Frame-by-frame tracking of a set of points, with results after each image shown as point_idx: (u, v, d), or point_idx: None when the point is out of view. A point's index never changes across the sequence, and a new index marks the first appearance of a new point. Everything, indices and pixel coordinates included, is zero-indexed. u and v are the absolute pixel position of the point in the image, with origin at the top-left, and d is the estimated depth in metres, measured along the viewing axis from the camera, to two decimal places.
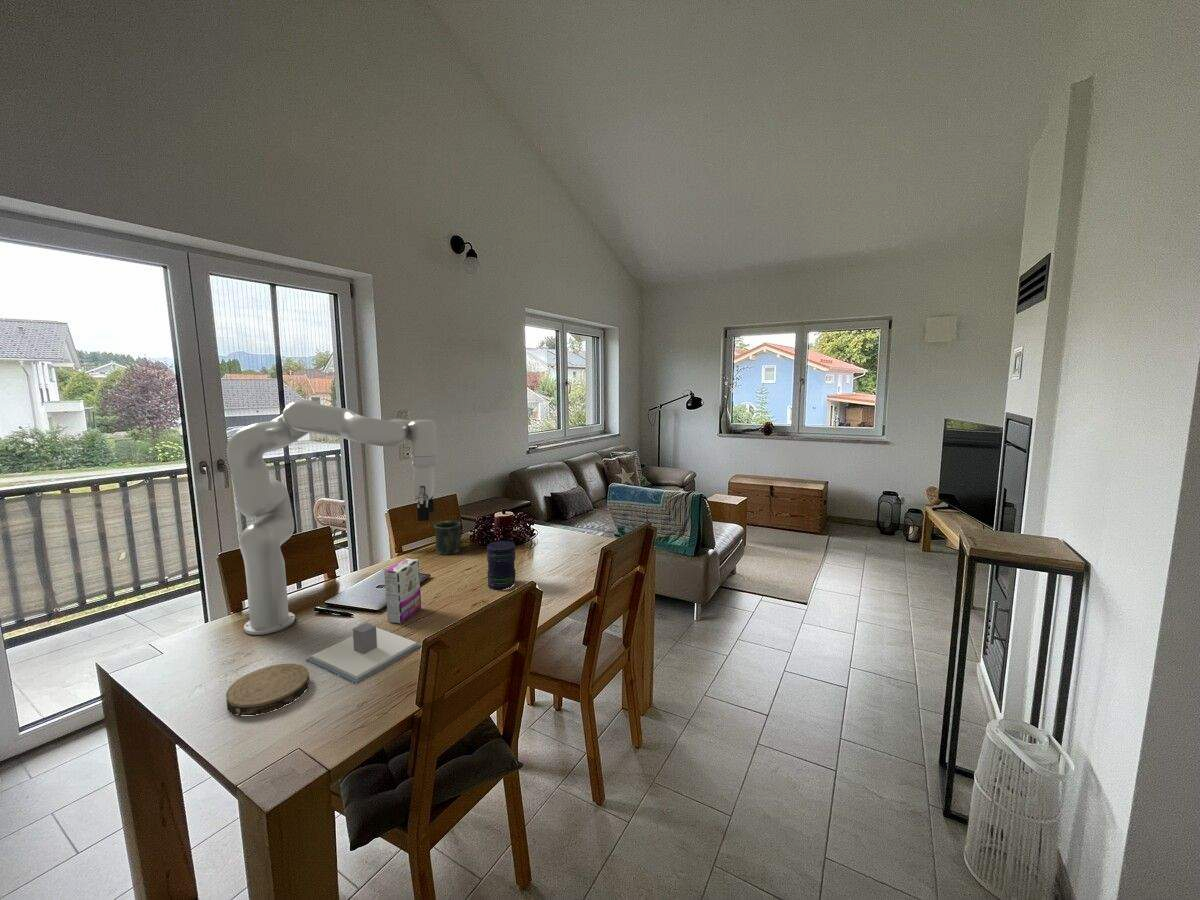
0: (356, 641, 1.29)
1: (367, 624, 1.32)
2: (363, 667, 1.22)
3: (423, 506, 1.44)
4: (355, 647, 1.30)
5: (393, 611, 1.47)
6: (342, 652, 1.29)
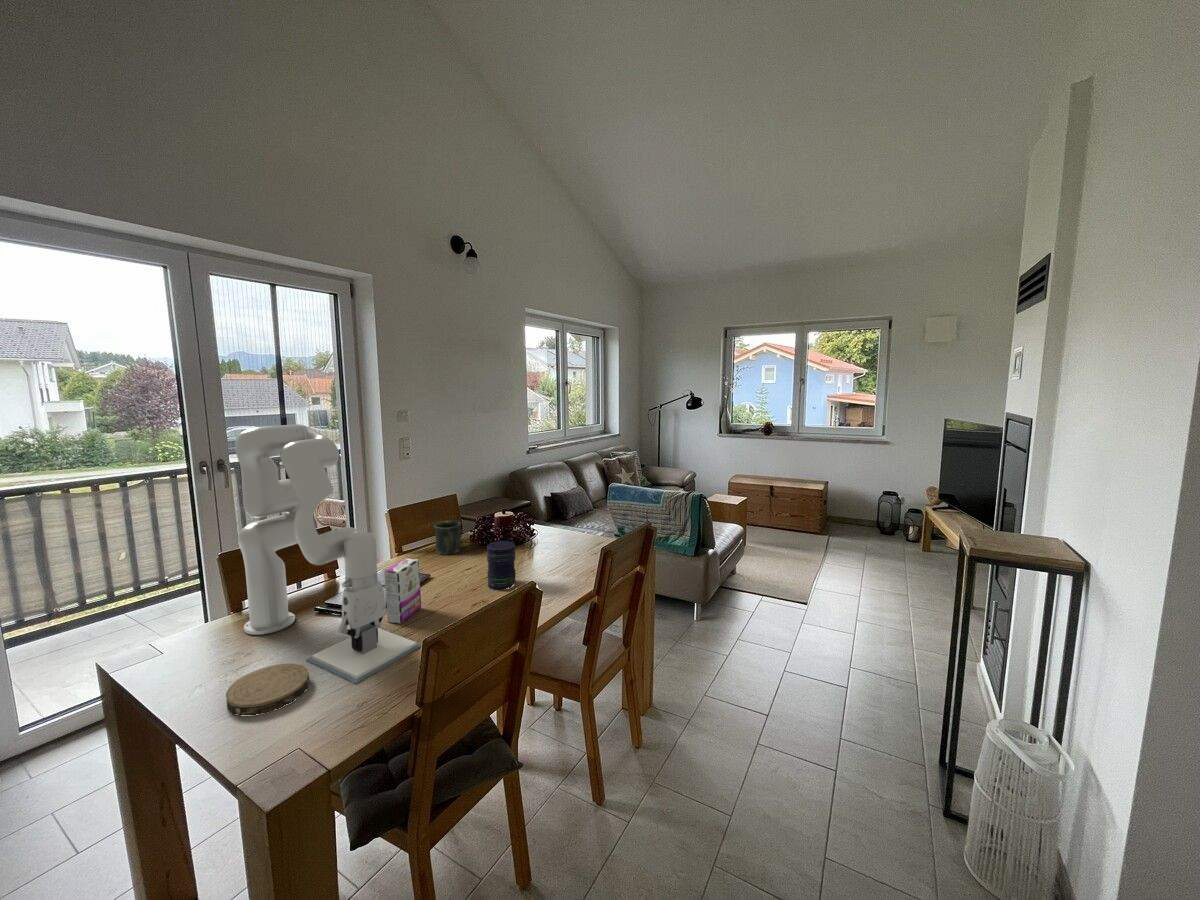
0: None
1: (367, 624, 1.32)
2: (363, 667, 1.22)
3: None
4: None
5: (393, 611, 1.47)
6: (342, 652, 1.29)
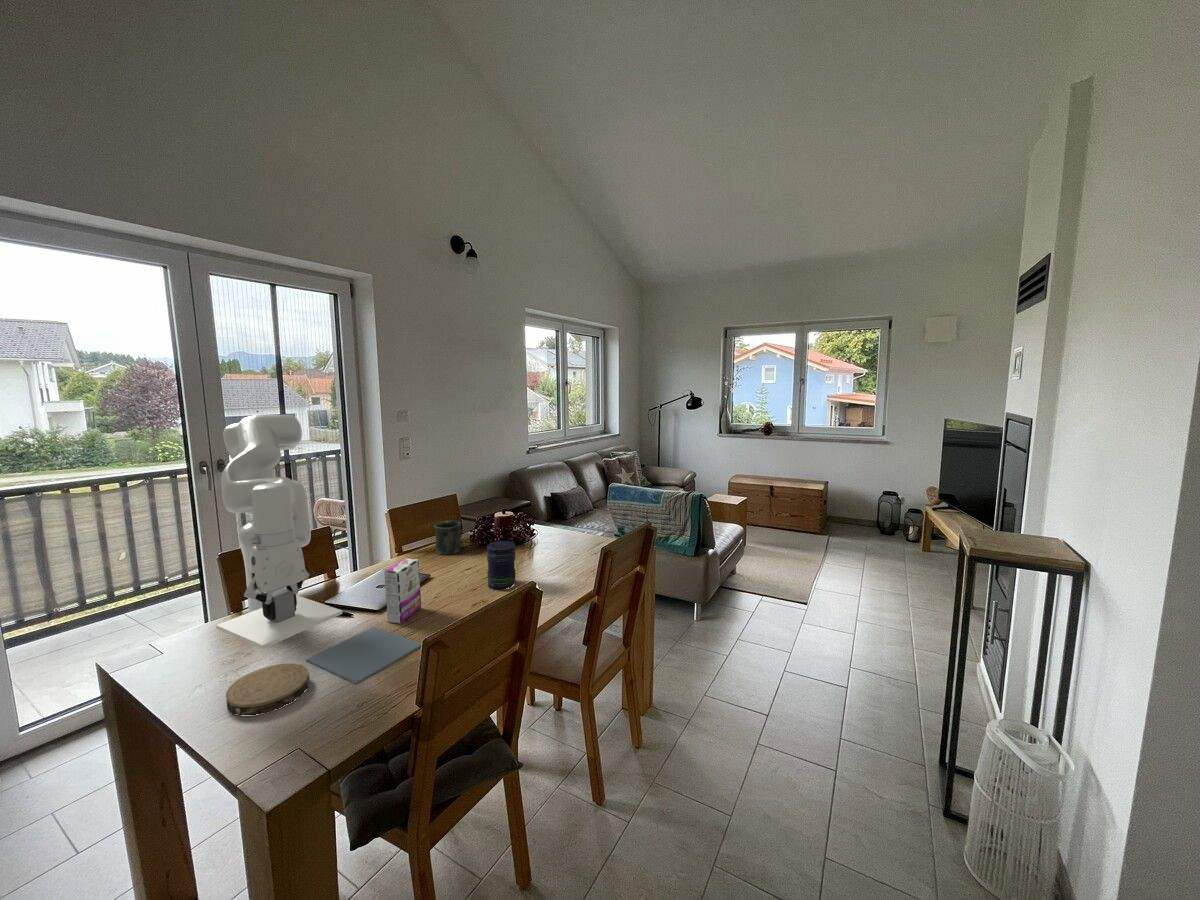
0: None
1: (283, 589, 1.15)
2: (273, 636, 1.06)
3: None
4: None
5: (393, 612, 1.47)
6: (252, 621, 1.12)
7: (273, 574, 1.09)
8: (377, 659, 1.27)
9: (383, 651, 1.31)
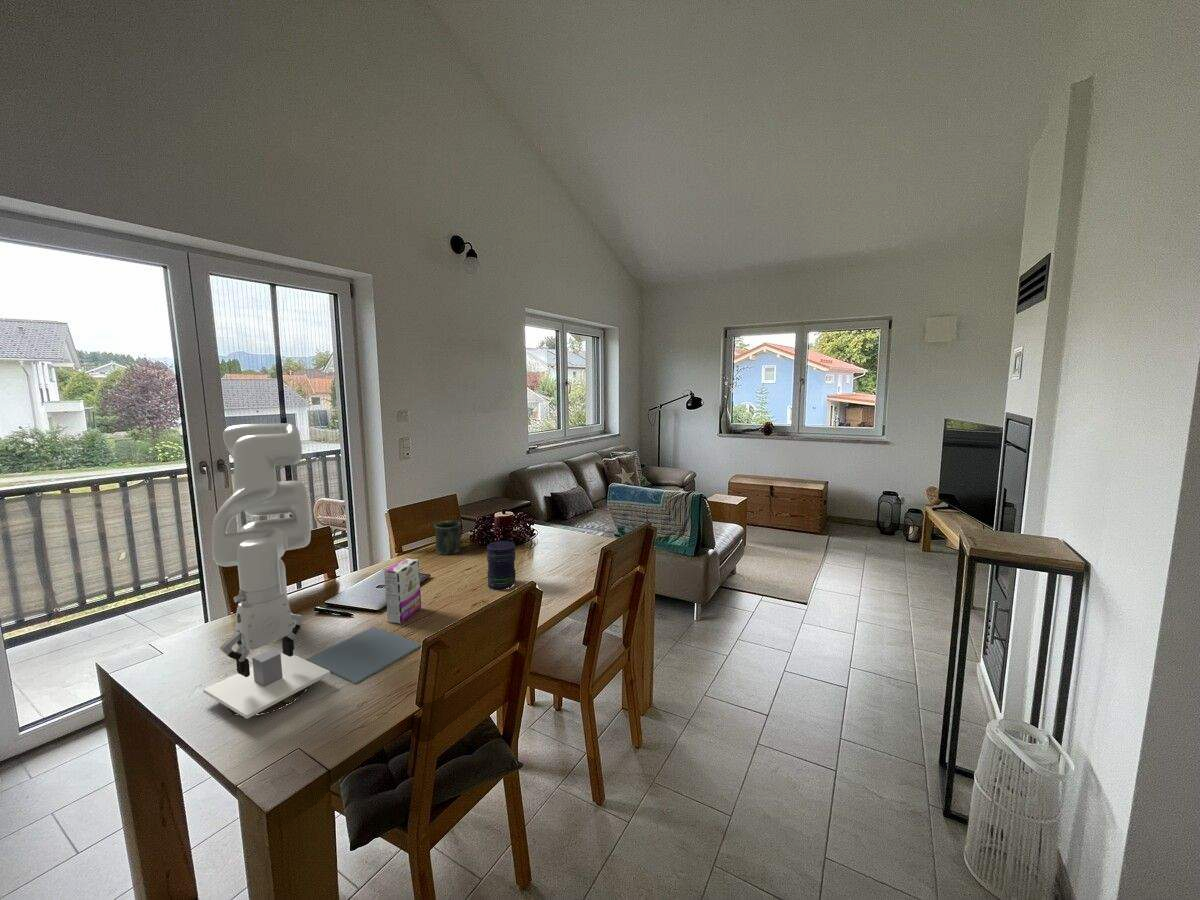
0: (256, 671, 1.12)
1: (271, 651, 1.14)
2: (258, 704, 1.05)
3: None
4: (255, 678, 1.12)
5: (393, 611, 1.47)
6: (239, 685, 1.11)
7: (259, 631, 1.08)
8: (377, 659, 1.27)
9: (383, 651, 1.31)
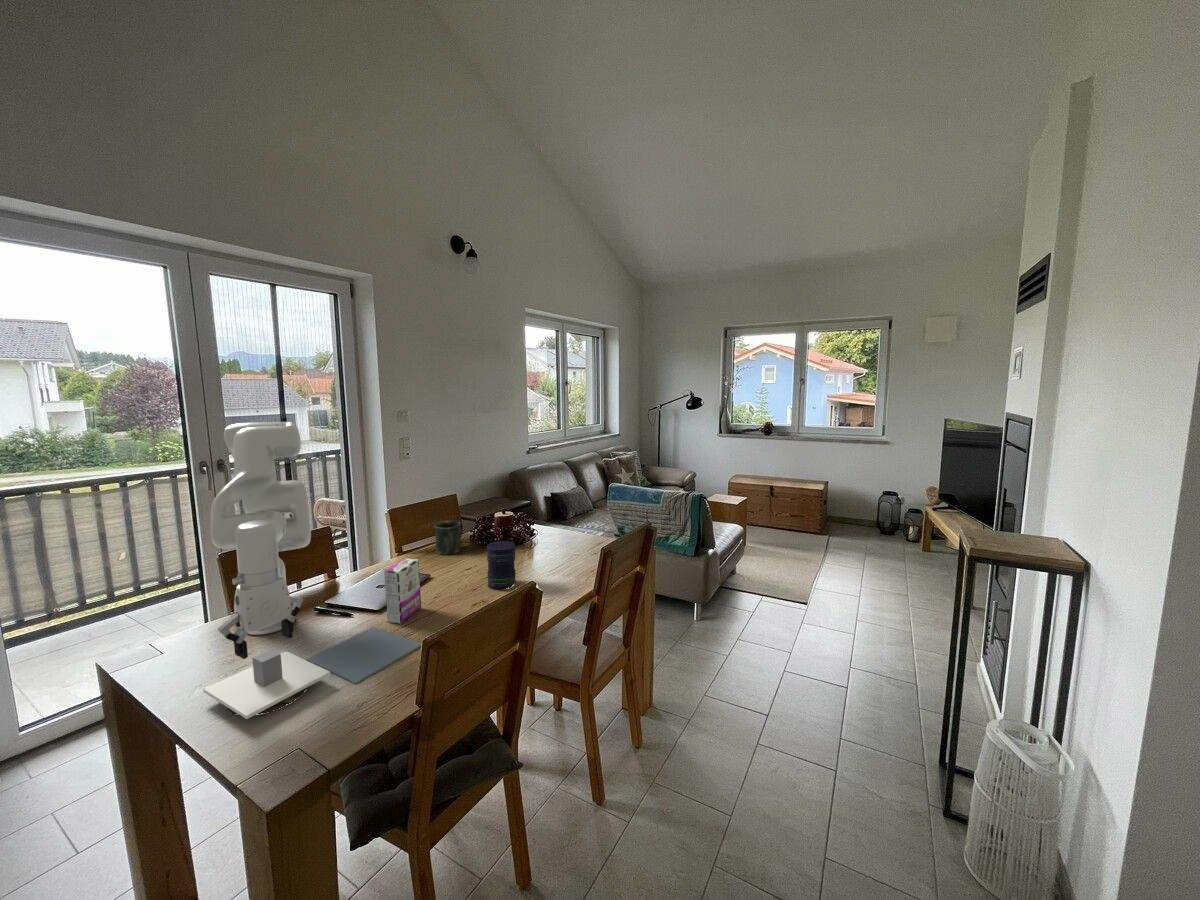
0: (256, 671, 1.12)
1: (271, 651, 1.14)
2: (258, 704, 1.05)
3: None
4: (255, 678, 1.12)
5: (393, 611, 1.47)
6: (239, 684, 1.11)
7: (257, 613, 1.08)
8: (377, 659, 1.27)
9: (383, 651, 1.31)
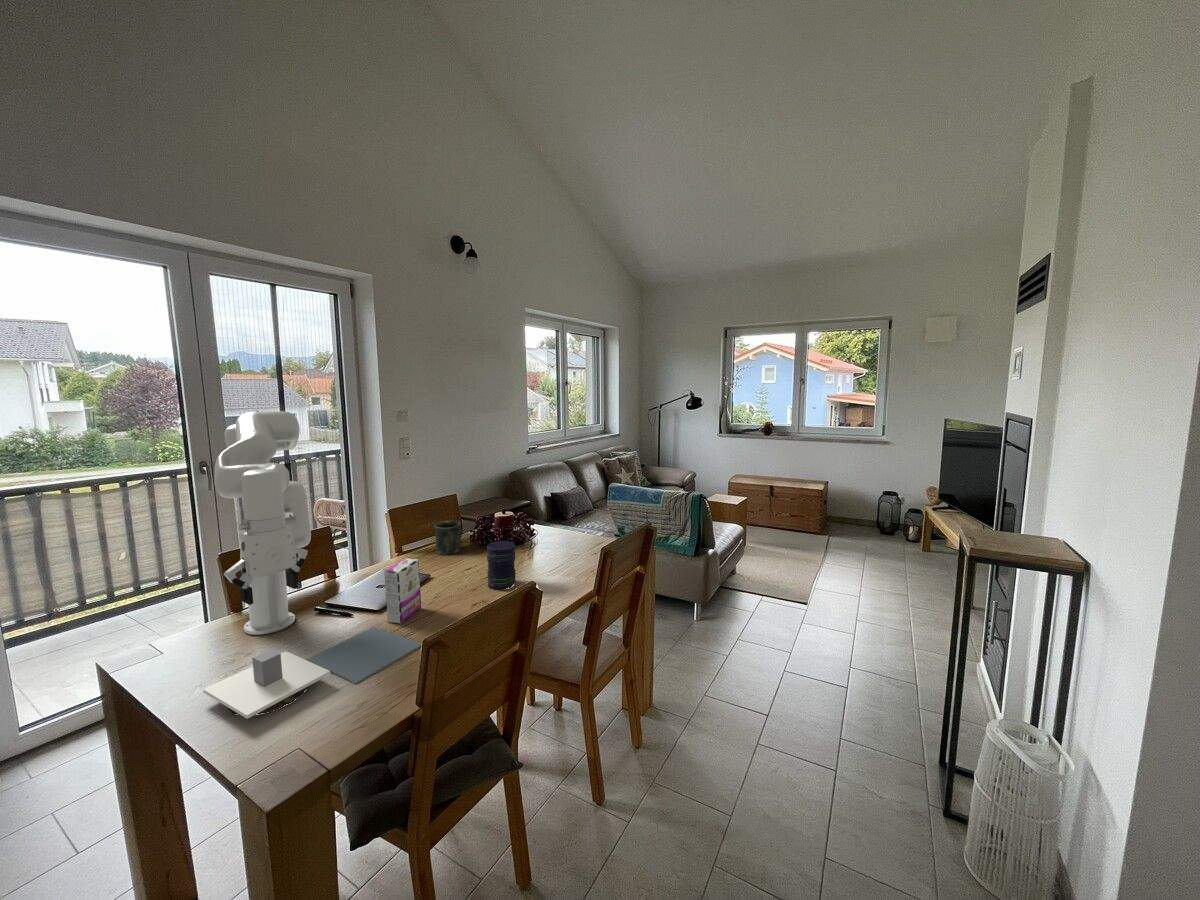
0: (256, 671, 1.12)
1: (271, 651, 1.14)
2: (258, 704, 1.05)
3: None
4: (255, 678, 1.12)
5: (393, 611, 1.47)
6: (239, 685, 1.11)
7: (263, 560, 1.09)
8: (377, 659, 1.27)
9: (383, 651, 1.31)
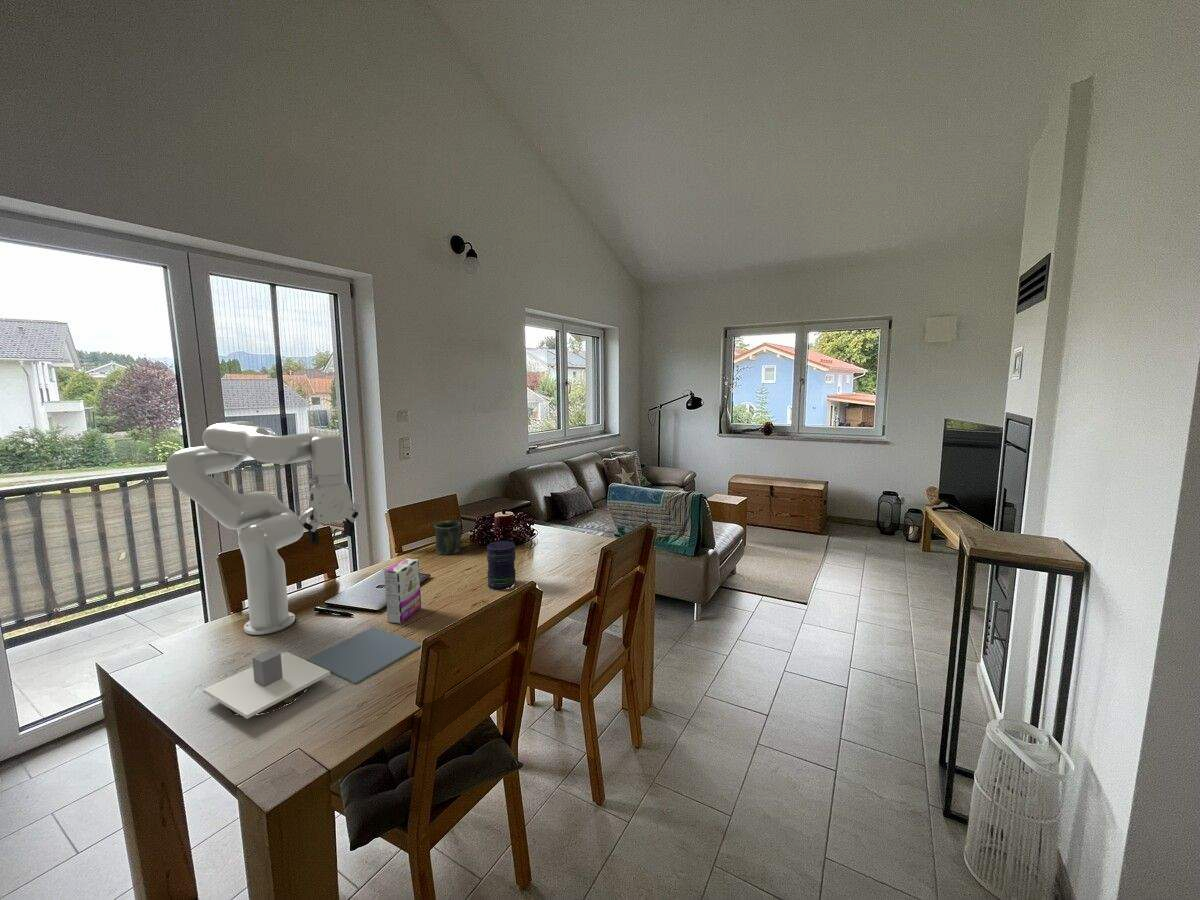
0: (256, 671, 1.12)
1: (271, 651, 1.14)
2: (258, 704, 1.05)
3: None
4: (255, 678, 1.12)
5: (393, 611, 1.47)
6: (239, 685, 1.11)
7: (327, 509, 1.33)
8: (377, 659, 1.27)
9: (383, 651, 1.31)
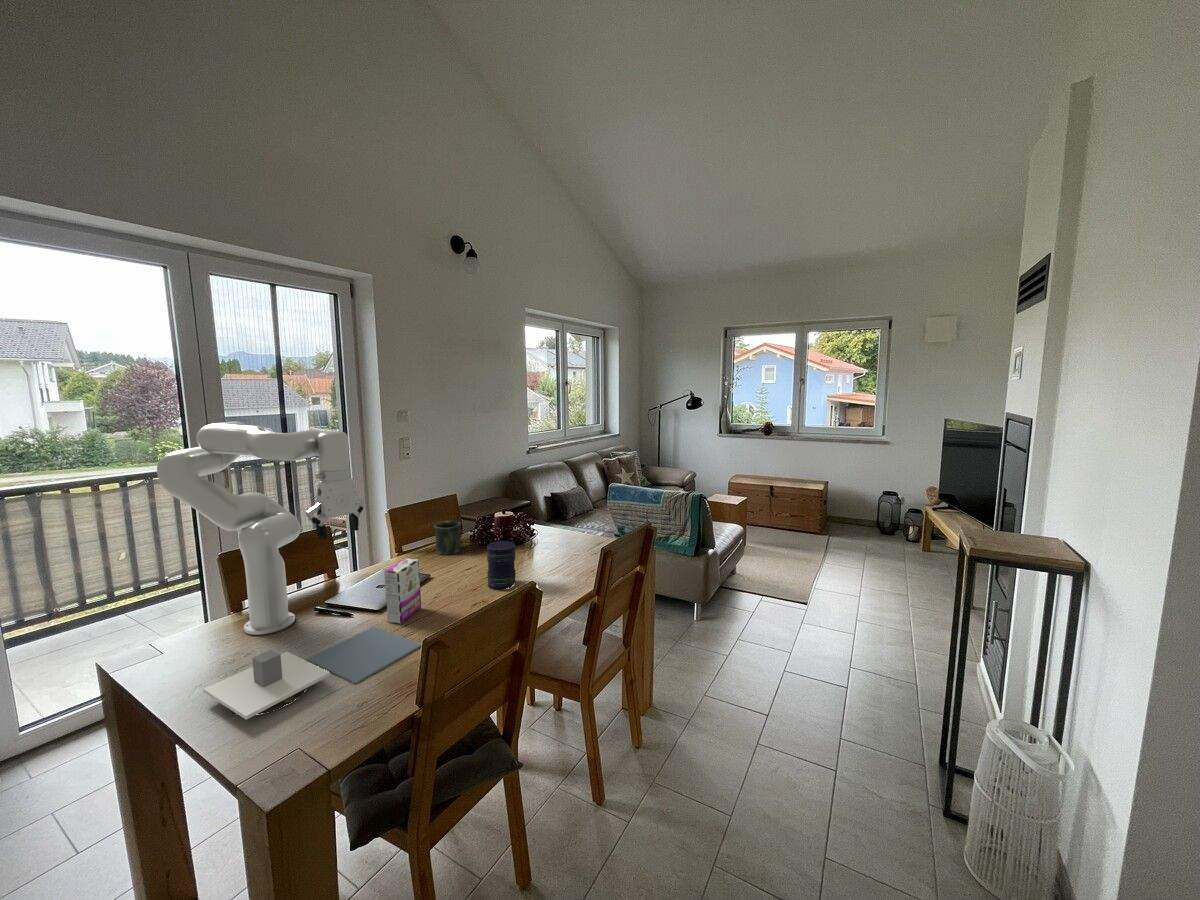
0: (255, 671, 1.12)
1: (271, 652, 1.14)
2: (257, 704, 1.05)
3: None
4: (255, 679, 1.12)
5: (393, 611, 1.47)
6: (239, 685, 1.11)
7: (334, 503, 1.36)
8: (377, 659, 1.27)
9: (383, 651, 1.31)
